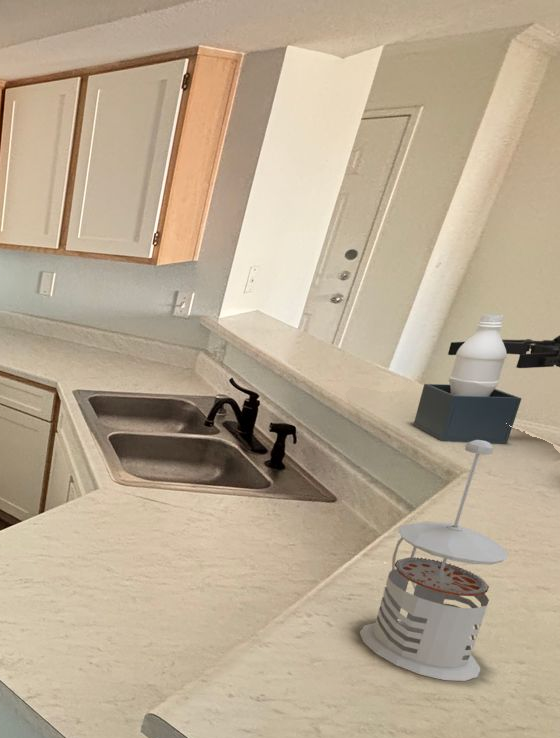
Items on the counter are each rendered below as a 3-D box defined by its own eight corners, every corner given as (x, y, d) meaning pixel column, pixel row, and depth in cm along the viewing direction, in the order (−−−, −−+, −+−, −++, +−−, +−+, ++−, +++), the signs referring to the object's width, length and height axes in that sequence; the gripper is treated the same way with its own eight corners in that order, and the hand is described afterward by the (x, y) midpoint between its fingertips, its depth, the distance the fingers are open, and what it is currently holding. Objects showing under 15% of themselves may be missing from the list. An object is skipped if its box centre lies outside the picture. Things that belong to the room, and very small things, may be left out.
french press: (385, 671, 63) (448, 454, 55) (337, 608, 73) (384, 418, 65) (505, 689, 60) (589, 461, 52) (437, 620, 70) (499, 422, 62)
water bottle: (439, 433, 126) (472, 316, 118) (432, 423, 132) (463, 312, 124) (487, 437, 122) (524, 317, 115) (477, 428, 128) (512, 313, 120)
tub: (473, 428, 130) (486, 385, 127) (507, 443, 121) (521, 398, 118) (413, 425, 134) (424, 383, 131) (441, 440, 124) (453, 396, 121)
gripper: (659, 380, 111) (547, 386, 111) (514, 355, 134) (422, 360, 135) (675, 341, 108) (560, 347, 109) (524, 323, 132) (430, 327, 132)
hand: (483, 354), depth 122 cm, fingers open, 13 cm apart
